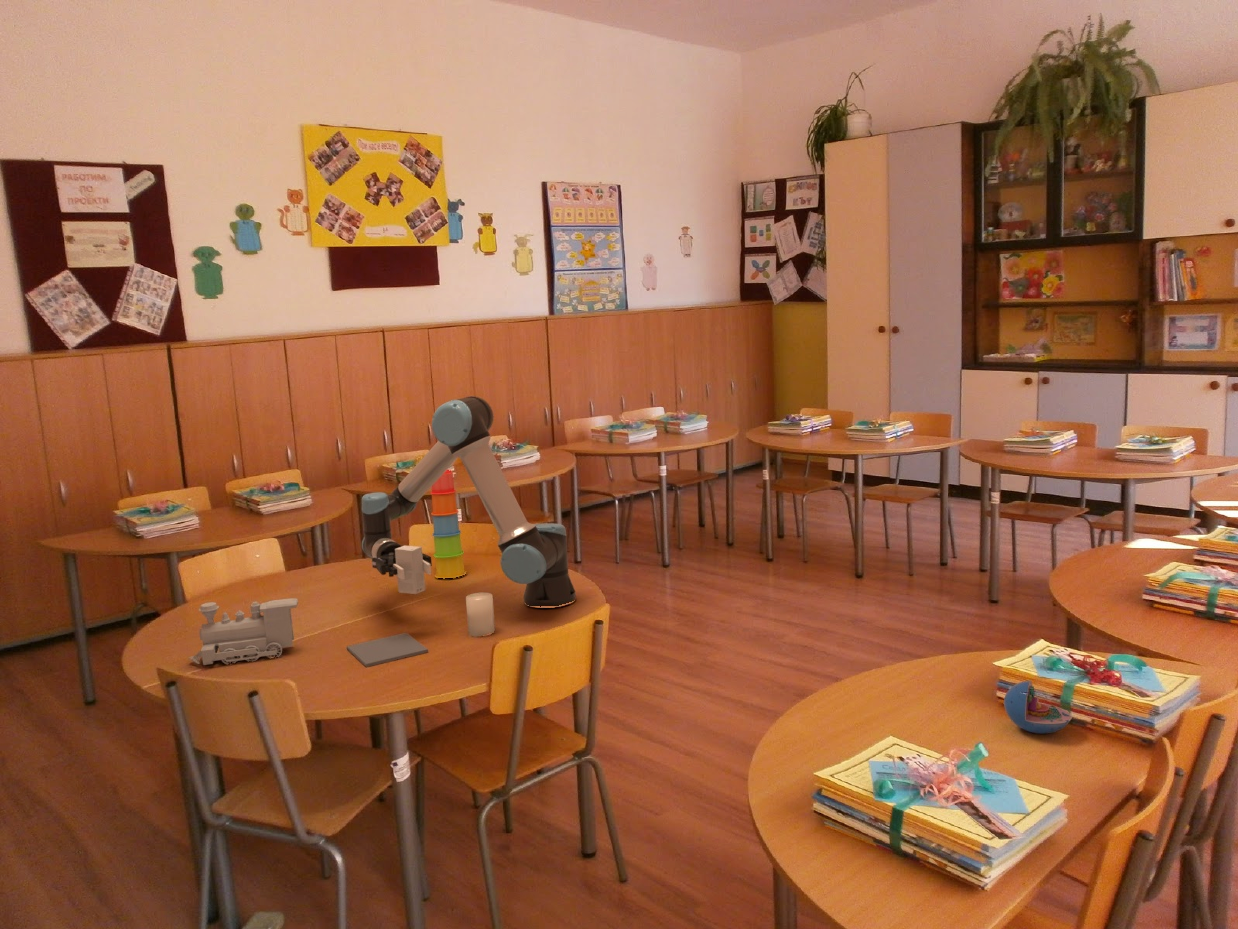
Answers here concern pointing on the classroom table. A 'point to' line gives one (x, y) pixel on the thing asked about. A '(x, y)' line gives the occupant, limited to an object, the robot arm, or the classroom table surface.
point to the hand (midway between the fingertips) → (416, 571)
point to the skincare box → (410, 569)
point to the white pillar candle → (480, 614)
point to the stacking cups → (446, 529)
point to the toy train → (246, 632)
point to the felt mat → (386, 649)
